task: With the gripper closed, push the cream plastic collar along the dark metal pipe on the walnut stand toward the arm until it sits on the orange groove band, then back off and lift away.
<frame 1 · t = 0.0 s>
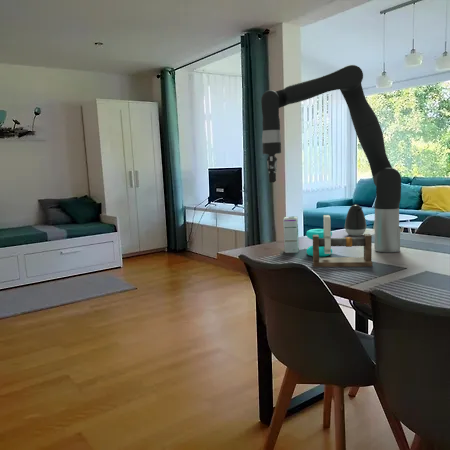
hand: (272, 182, 178), 29 cm above the table, fingers open, 8 cm apart
donuts: (319, 255, 172), on the table
syrup box: (291, 252, 181), on the table
dark grey egg shape: (355, 235, 213), on the table
collar: (327, 234, 155), point 11 cm above the table, slide at 5.0 cm
pipe stand: (341, 263, 156), on the table
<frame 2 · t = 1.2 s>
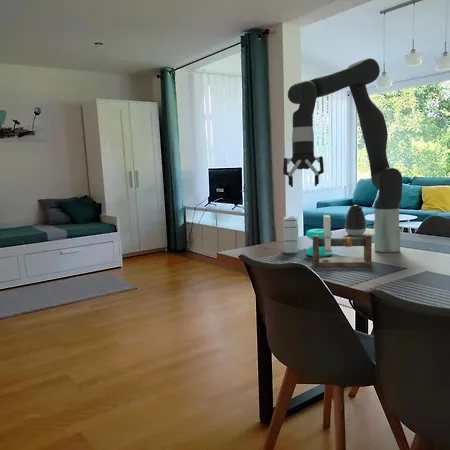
hand: (303, 186, 155), 28 cm above the table, fingers open, 8 cm apart
nothing on the table moved.
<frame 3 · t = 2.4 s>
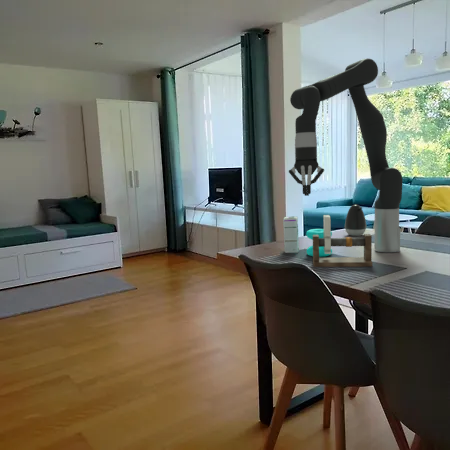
hand: (306, 195, 154), 25 cm above the table, fingers closed
nothing on the table moved.
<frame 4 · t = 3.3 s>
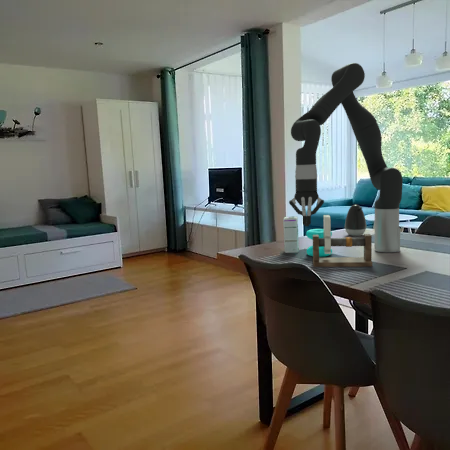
hand: (306, 226, 156), 14 cm above the table, fingers closed
nothing on the table moved.
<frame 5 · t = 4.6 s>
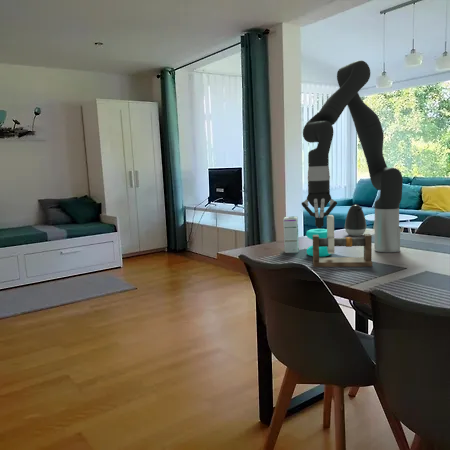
hand: (319, 227, 155), 13 cm above the table, fingers closed
collar: (330, 234, 155), point 11 cm above the table, slide at 3.8 cm, touching gripper
everything else where it was.
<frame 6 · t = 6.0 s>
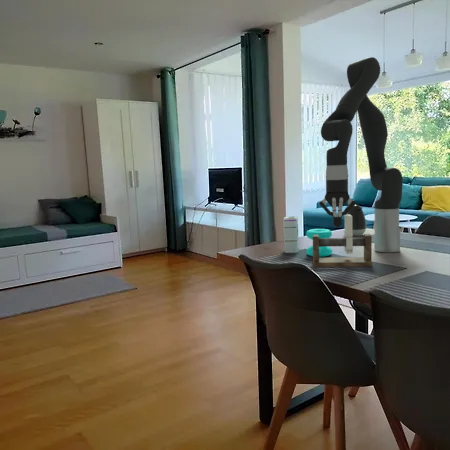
hand: (337, 227, 154), 13 cm above the table, fingers closed
collar: (348, 233, 154), point 11 cm above the table, slide at -2.4 cm, touching gripper
everything else where it was.
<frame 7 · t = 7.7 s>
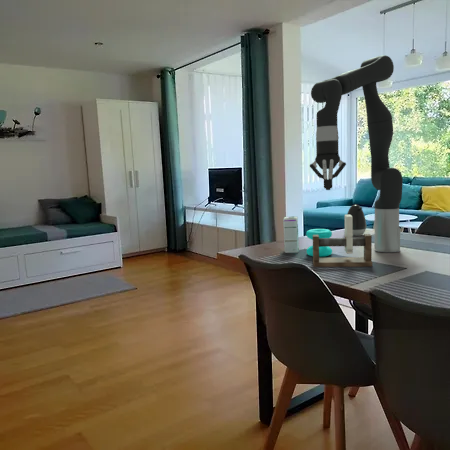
hand: (328, 189, 153), 27 cm above the table, fingers closed
collar: (348, 233, 154), point 11 cm above the table, slide at -2.4 cm
everything else where it was.
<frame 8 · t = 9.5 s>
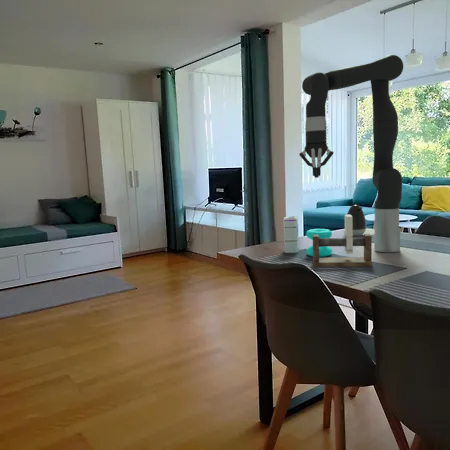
hand: (316, 177, 161), 31 cm above the table, fingers closed
nothing on the table moved.
at the end: collar slide at -2.4 cm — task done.
